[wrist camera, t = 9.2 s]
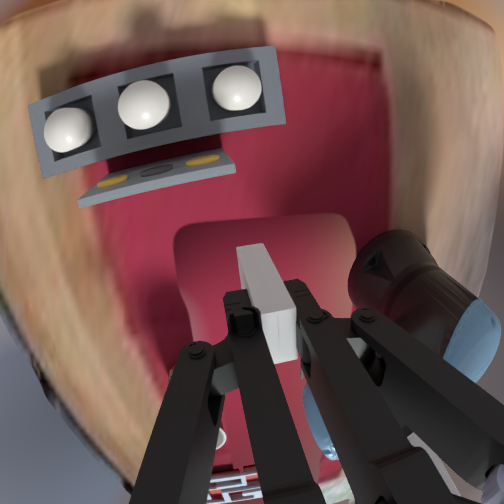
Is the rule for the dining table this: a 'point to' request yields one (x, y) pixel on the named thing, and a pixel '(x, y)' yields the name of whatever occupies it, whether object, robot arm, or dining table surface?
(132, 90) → the button middle
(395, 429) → the robot arm
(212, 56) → the button board
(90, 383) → the dining table surface
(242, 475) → the maze game
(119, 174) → the card
